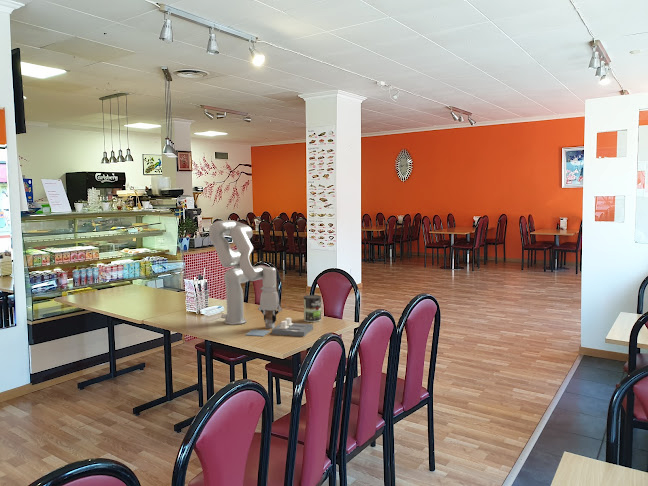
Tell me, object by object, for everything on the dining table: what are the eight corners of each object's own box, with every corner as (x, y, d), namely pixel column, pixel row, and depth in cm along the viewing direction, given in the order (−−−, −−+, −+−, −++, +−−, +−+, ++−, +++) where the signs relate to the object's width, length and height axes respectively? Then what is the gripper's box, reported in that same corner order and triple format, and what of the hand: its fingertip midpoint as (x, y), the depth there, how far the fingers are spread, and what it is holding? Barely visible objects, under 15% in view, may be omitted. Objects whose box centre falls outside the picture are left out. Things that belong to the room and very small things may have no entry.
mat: (245, 335, 268) (245, 334, 268) (252, 330, 278) (252, 329, 278) (262, 336, 265) (262, 335, 265) (269, 331, 275) (269, 330, 275)
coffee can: (324, 320, 299) (324, 296, 297) (310, 323, 293) (310, 299, 291) (314, 317, 307) (314, 294, 306) (300, 319, 301) (300, 296, 300)
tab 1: (279, 328, 270) (278, 322, 270) (281, 326, 274) (281, 320, 274) (286, 329, 269) (286, 322, 269) (288, 327, 273) (288, 320, 273)
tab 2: (283, 325, 277) (283, 319, 276) (286, 323, 281) (286, 317, 281) (290, 326, 276) (290, 319, 275) (293, 324, 280) (293, 317, 279)
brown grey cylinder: (265, 328, 282) (265, 310, 281) (268, 326, 286) (267, 308, 285) (272, 328, 281) (271, 310, 280) (274, 326, 285) (274, 309, 284)
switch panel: (271, 334, 269) (271, 329, 269) (282, 326, 285) (282, 322, 285) (304, 336, 265) (304, 331, 264) (312, 328, 280) (312, 324, 280)
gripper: (252, 290, 280) (253, 322, 282) (281, 291, 276) (281, 324, 277) (258, 287, 287) (258, 319, 289) (286, 289, 283) (286, 321, 285)
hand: (270, 321), depth 283 cm, fingers closed on brown grey cylinder, 4 cm apart
